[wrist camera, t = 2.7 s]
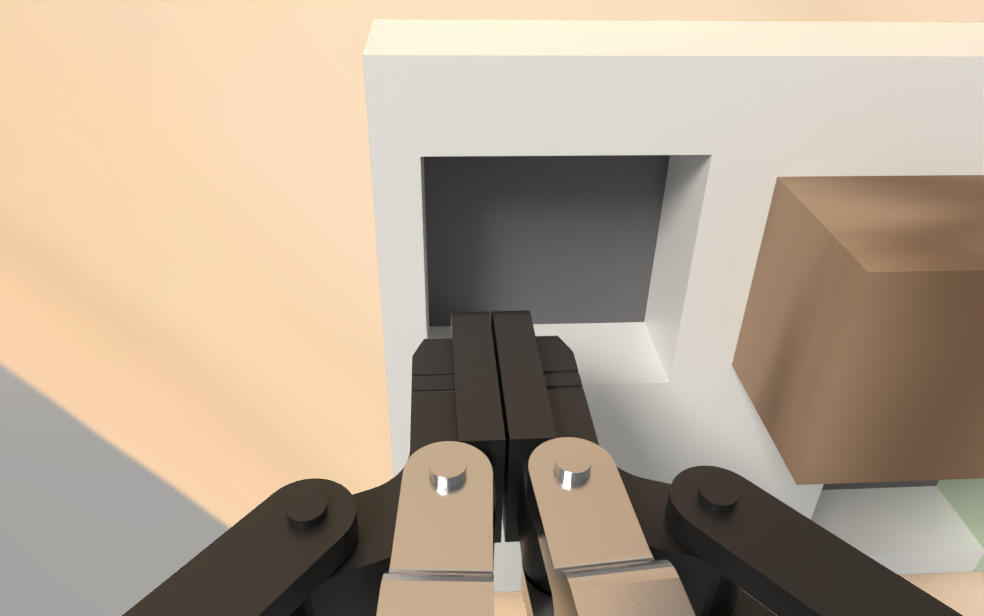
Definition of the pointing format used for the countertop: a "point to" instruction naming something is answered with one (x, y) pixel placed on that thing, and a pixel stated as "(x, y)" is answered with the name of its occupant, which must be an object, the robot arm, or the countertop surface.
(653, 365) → the box
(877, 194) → the walnut block
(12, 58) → the countertop surface
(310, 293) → the countertop surface
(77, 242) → the countertop surface
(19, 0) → the countertop surface
